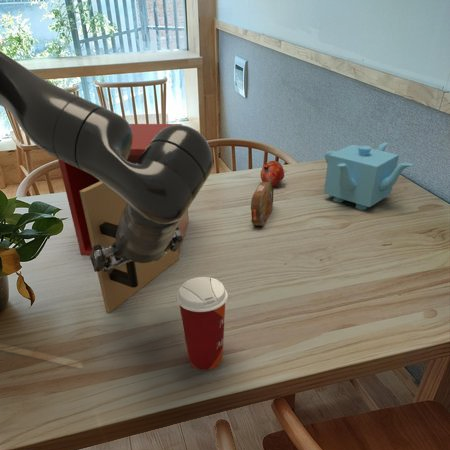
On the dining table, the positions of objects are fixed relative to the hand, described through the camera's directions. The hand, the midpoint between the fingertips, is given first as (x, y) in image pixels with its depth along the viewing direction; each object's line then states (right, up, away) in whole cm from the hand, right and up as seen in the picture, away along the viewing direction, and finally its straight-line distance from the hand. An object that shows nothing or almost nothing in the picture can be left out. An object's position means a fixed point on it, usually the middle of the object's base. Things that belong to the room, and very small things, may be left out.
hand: (131, 261), depth 78 cm
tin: (+26, +14, +39) cm, 49 cm away
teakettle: (+54, +21, +47) cm, 74 cm away
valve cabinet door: (+2, -4, +14) cm, 14 cm away
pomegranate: (+31, +28, +57) cm, 71 cm away
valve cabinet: (-5, +8, +31) cm, 33 cm away
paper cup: (+13, -16, -3) cm, 21 cm away
